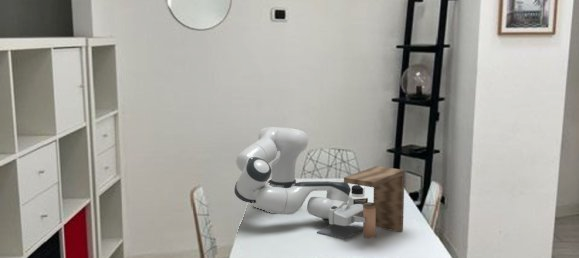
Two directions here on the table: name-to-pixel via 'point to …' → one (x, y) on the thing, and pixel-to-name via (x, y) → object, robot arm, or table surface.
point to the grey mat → (339, 231)
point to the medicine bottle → (357, 195)
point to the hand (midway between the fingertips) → (369, 218)
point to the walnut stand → (384, 194)
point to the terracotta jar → (369, 220)
